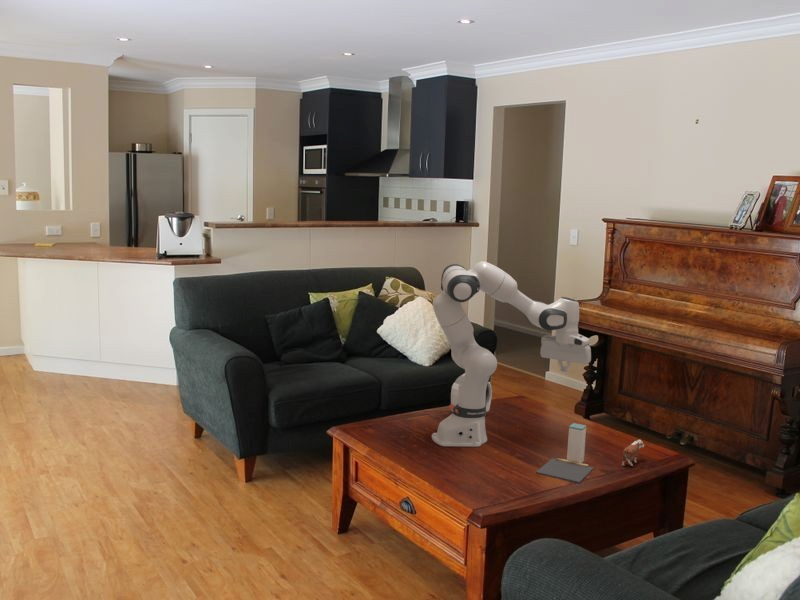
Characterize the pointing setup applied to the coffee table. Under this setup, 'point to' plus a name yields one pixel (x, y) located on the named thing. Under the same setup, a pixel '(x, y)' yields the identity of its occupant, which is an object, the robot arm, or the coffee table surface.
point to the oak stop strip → (572, 462)
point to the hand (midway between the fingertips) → (564, 371)
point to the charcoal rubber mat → (565, 470)
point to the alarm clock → (455, 392)
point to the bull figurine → (632, 451)
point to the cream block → (576, 442)
